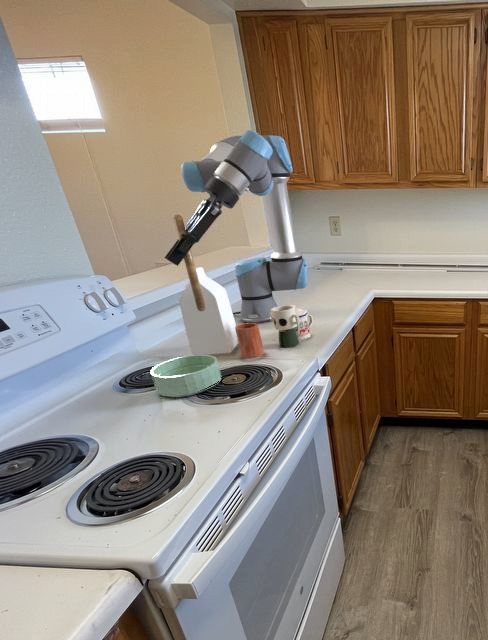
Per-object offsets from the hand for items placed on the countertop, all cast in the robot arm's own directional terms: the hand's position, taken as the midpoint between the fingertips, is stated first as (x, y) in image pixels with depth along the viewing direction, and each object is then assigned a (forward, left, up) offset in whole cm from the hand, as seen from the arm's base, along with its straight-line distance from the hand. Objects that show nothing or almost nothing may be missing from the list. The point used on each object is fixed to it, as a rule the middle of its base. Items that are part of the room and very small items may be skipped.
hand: (171, 261), depth 103 cm
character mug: (-3, +28, -32) cm, 43 cm away
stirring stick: (+1, +4, -13) cm, 14 cm away
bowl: (+3, -5, -31) cm, 32 cm away
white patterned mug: (-9, +36, -32) cm, 49 cm away
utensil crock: (-4, +16, -31) cm, 36 cm away
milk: (-20, +12, -32) cm, 39 cm away
